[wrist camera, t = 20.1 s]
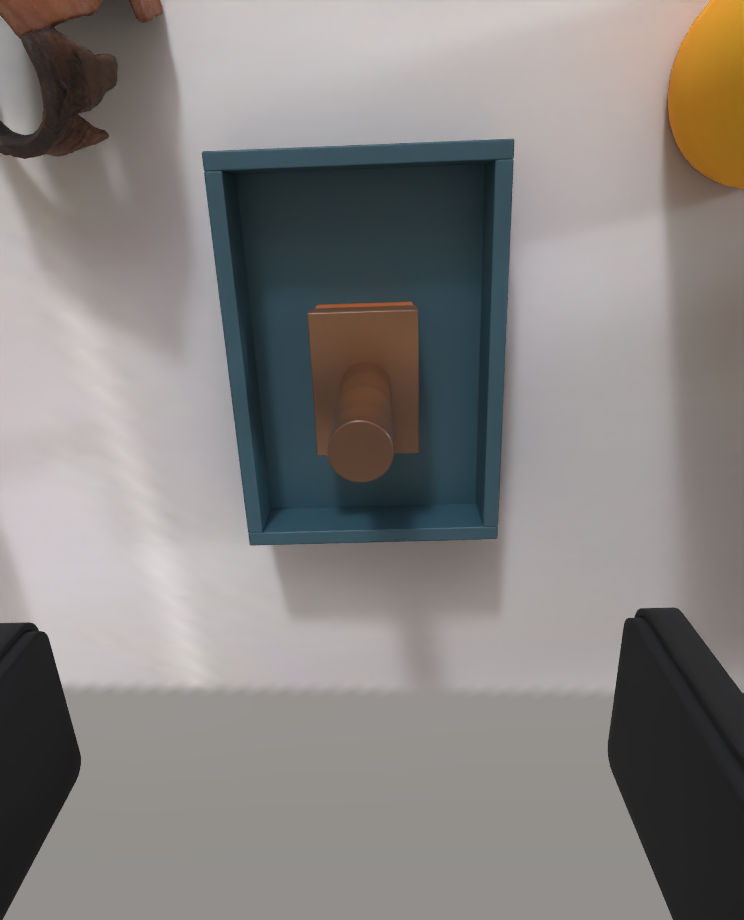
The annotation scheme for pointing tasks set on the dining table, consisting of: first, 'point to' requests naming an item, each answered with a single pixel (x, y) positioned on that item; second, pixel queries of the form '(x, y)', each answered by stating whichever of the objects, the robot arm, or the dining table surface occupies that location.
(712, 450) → the dining table surface
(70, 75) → the brown twisted loop
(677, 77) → the beer bottle
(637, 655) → the robot arm
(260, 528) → the tray
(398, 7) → the dining table surface
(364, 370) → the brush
